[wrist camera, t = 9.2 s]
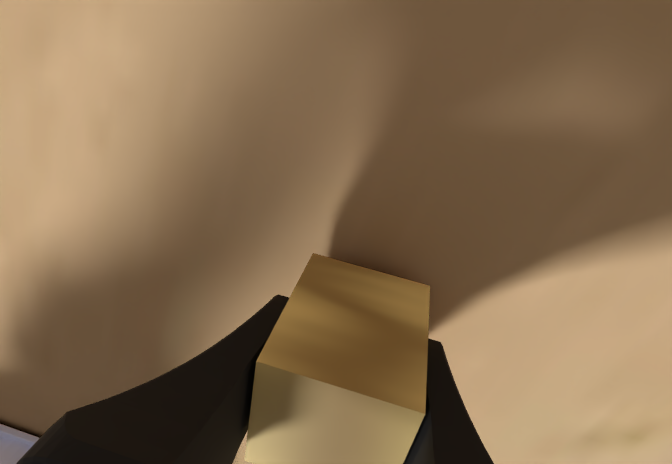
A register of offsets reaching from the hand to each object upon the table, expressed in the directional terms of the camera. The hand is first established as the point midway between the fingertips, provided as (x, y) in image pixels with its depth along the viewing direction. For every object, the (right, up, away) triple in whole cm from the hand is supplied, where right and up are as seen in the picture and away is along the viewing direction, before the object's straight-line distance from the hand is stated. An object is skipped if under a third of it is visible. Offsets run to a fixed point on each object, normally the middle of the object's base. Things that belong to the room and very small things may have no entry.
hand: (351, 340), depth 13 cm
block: (0, +1, +2) cm, 2 cm away
